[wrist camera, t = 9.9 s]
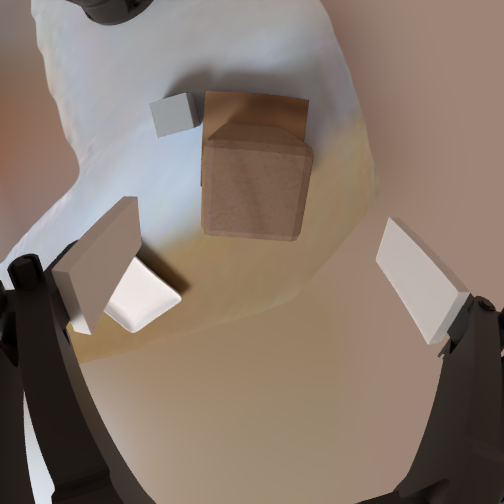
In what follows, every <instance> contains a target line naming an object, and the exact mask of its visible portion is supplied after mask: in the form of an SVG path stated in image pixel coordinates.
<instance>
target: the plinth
mask: <svg viewBox="0 0 504 504" xmlns="http://www.w3.org/2000/svg"><path fill="white" fill-rule="evenodd" d="M308 105H309V100H305V99H299V98H292V97H284V96H276V95H267V94H257V93H245V92H228V91H205V104H204V119H203V136H202V158H201V187H202V175H203V153H204V144H205V142H206V140H207V138H208V137H210V136H211V135H212V134H213V133H214V132H215V131H216V130H218V129H219V128H220V127H221V126H222V125H223V124H227V123H237V124H250V125H261V126H270V127H279V128H282V129H284V130H286V131H287V132H289V133H290V134H292V135H293V136H295V137H296V138H298V139H299V140H301V141H302V142H303V143H304V136H305V129H306V121H307V113H308Z"/></svg>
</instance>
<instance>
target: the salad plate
mask: <svg viewBox="0 0 504 504" xmlns="http://www.w3.org/2000/svg"><path fill="white" fill-rule="evenodd" d="M181 300H182V297H181V295H180V294H179V293H178V292H177V291H176V290H175V289H174V288H172V287H171V286H170V285H168V284H167V283H166V282H165V281H163V280H162V279H161V278H160V277H159V276H157V275H156V274H155V273H154V272H153V271H152V270H151V269H149V268H148V267H147V266H146V265H145V264H144V263H143V262H142V261H141V260H140V259H139V258H138V257H137V256H136V255H135V257H134V259H133V260H132V262H131V264H130V265H129V267H128V269H127V270H126V272H125V274H124V275H123V277H122V279H121V280H120V282H119V284H118V286H117V287H116V289H115V291H114V293H113V295H112V296H111V298H110V300H109V302H108V304H107V306H106V307H105V309H104V312H106V313H107V314H108V315H109V316H110V317H112V318H113V319H114V320H115V321H117V322H118V323H119V324H120V325H122V326H123V327H124V328H126V329H127V330H128V331H130V332H132V333H135V332H137V331H139V330H140V329H141V328H143V327H144V326H145V325H147V324H148V323H150V322H151V321H152V320H154V319H155V318H157V317H158V316H160V315H161V314H163V313H164V312H166V311H167V310H169V309H170V308H172V307H173V306H175V305H176V304H178V303H179V302H180V301H181Z"/></svg>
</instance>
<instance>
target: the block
mask: <svg viewBox="0 0 504 504" xmlns="http://www.w3.org/2000/svg"><path fill="white" fill-rule="evenodd" d="M312 162H313V152H312V148H311V147H309V146H308V145H306V144H305V143H303V142H302V141H301V140H299V139H298V138H296V137H295V136H293V135H292V134H290V133H289V132H287V131H286V130H284V129H282V128H279V127H270V126H261V125H250V124H237V123H227V124H223V125H222V126H221V127H220V128H219V129H218V130H216V131H215V132H214V133H213V134H212V135H211V136H210V137H208V138H207V140H206V142H205V144H204V153H203V175H202V208H201V226H202V228H203V231H204V233H205V234H207V235H210V236H223V237H237V238H251V239H264V240H277V241H290V242H291V241H295V240H296V239H297V238H298V236H299V234H300V231H301V226H302V220H303V215H304V209H305V204H306V198H307V192H308V186H309V181H310V175H311V168H312Z"/></svg>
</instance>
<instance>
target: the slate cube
mask: <svg viewBox="0 0 504 504" xmlns="http://www.w3.org/2000/svg"><path fill="white" fill-rule="evenodd" d="M150 107H151V111H152V116H153V120H154V124H155V128H156V132H157V136H158V138H159V137H163V136H166V135H170V134H173V133H177V132H180V131H184V130H188V129H192V128H195V127H197V126H199V125H200V123H199V119H198V115H197V110H196V106H195V101H194V97H193V94H192V93H186V92H185V93H182V94H178V95H175V96H171V97H168V98H165V99H162V100H159V101H156V102H153V103H150Z"/></svg>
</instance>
